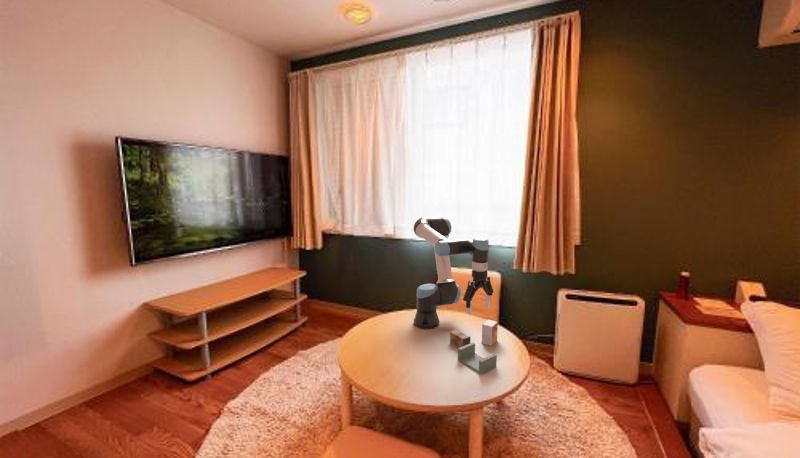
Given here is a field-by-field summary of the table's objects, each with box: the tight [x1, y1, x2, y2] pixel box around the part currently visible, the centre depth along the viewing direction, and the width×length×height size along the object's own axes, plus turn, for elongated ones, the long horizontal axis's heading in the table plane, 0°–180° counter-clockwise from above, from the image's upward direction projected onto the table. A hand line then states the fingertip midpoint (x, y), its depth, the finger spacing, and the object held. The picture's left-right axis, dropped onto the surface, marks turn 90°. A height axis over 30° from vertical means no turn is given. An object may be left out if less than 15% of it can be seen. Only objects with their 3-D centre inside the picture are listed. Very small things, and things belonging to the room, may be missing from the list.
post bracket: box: [457, 342, 498, 375], centre depth 153 cm, size 14×10×6 cm
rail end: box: [449, 329, 471, 348], centre depth 170 cm, size 10×5×6 cm, turn 34°
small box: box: [481, 319, 499, 347], centre depth 173 cm, size 8×6×10 cm
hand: (478, 310), depth 165 cm, fingers open, 13 cm apart
